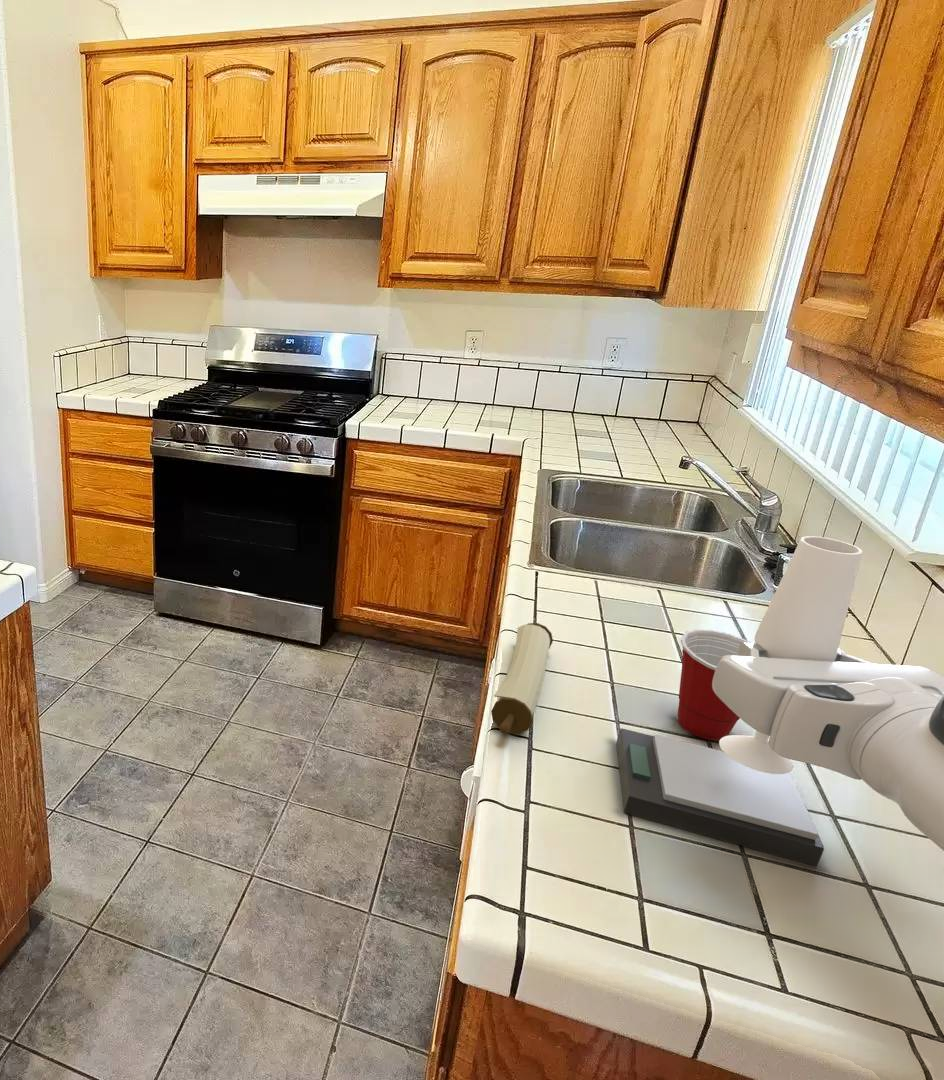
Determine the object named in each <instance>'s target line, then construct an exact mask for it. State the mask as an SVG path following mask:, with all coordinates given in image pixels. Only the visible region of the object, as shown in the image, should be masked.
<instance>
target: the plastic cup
mask: <svg viewBox="0 0 944 1080" xmlns="http://www.w3.org/2000/svg"><path fill="white" fill-rule="evenodd" d="M680 642H681V646H682V652H681V653H682V656H681V661H682V663H681V670H680V671H681V672H680V681H679V689H678V690H679V691H678V699H679V700H678V706H677V707H678V709H677V721H678V725H679V726H680V727H681V728H682V729H683V730H684V731H686V732H688V733H689V734H691V735H692V736H695V737H698V738H700V739H702V740H703V739H704V740H708V741H720V739H721V738H723V737H725V736H729V735H731V732H732V730H733V729H734V727H735V725H736V723H737V722H738V721H739V720H741V719H740V718H739V717H738V716H737V715H736V714H735V713H734V712H733V711H732V710H731V709H730V708H729V707H728V706H727V705H726V704H725V703H724V702H723V701H722V700H721V699H720V698H719V697H718V696H717V695H716V694H715V692H714V691H713V688H712V681H713V677H714V673H715V670H716V667H717V665H718V663H719V661H720V660H721V658H722V657H723V656H725V655H733V656H737V652H738V649H739V646H740V644H741V643H752V642H751V641H749V640H748V639H745V638H742V637H739V636H737V635H734V634H731V633H729V632H728V633H727V632H723V631H720V630H719V631H718V630H715V629H701V628H700V629H697V628H695V629H691V630H688V631H685V632H684V634H683V635H682V636H681V637H680Z"/></svg>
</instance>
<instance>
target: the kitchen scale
mask: <svg viewBox="0 0 944 1080" xmlns="http://www.w3.org/2000/svg"><path fill="white" fill-rule="evenodd" d="M616 753H617V762H618V771H619V780H620V788H621V789H620V790H621V799H622V807H623V813H624V814H627V815H631V816H635V817H637V818H641V819H645V820H649V821H652V822H656V823H659V824H663V825H666V826H670V827H673V828H677V829H681V830H684V831H688V832H691V833H695V834H699V835H702V836H706V837H709V838H713V839H717V840H719V841H723V842H727V843H730V844H733V845H734V844H735V845H738V846H742V847H745V848H749V849H752V850H756V851H759V852H763V853H766V854H770V855H774V856H776V857H777V856H778V857H781V858H784V859H788V860H792V861H795V862H799V863H803V864H806V865H810V866H812V867H818V865H819V862H820V860H821V858H822V856H823V853H824V850H825V847H824V845H823V842H822V840H821V838H820V836H819V833H818V830H817V828H816V826H815V824H814V821H813V819H812V817H811V815H810V812H809V810H808V808H807V806H806V803H805V801H804V799H803V797H802V794H801V792H800V790H799V788H798V786H797V783H796V781H795V779H794V777H793V773H792V771H791V772H789V773H786V774H769V773H764V772H760V771H757V770H754V769H751V768H748V767H746V766H744V765H742V764H740V763H738V762H736V761H735V760H733V759H732V758H730V757H729V756H728V755H727V754H725V753H724V751H723V750H720V749H716V748H711V747H707V746H704V745H699V744H695V743H691V742H687V741H682V740H678V739H675V738H671V737H667V736H662V735H657V734H653V735H650V734H647V733H642V732H638V731H634V730H631V729H627V728H622V727H621V728H620V729H619V733H618V736H617V740H616Z"/></svg>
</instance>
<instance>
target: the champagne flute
mask: <svg viewBox="0 0 944 1080" xmlns="http://www.w3.org/2000/svg"><path fill="white" fill-rule="evenodd" d="M862 555H863V550H862V549H861V548H859V547H858V546H856V545H854V544H852V543H848V542H845V541H843V540H839V539H836V538H835V539H834V538H830V537H823V536H817V535H816V536H815V535H807V536H806V535H805V536H802V537H801V538H800V540H799V542H798V544H797V546H796V548H795V550H794V552H793V554H792V556H791V558H790V559H789V563H788V565H787V567H786V568H785V571H784V573H783V575H782V577H781V580H780V581H779V583H778V585H777V588H776V590H775V592H774V594H773V596H772V598H771V600H770V603H769V605H768V607H767V609H766V610H765V613H764V615H763V617H762V619H761V621H760V623H759V625H758V627H757V630H756V631H755V635H754V643H755V644H759V646H761V647H762V648H764V649H765V650H766V653H765V656H764V657H766V658H782V659H799V660H816V661H833V662H834V661H835V659H836V656H837V652H838V649H840V644H841V639H842V636H843V631H844V627H845V623H846V619H847V615H848V611H849V606H850V602H851V599H852V595H853V592H854V591H853V590H854V587H855V583H856V578H857V574H858V571H859V566H860V562H861V558H862ZM769 738H770V736H769V735H766V734H763V733H761V732H759V731H757V730H755V734H754V735H742V734H741V735H740V734H729V735H728V736H725V737H723V738H721V739H720V740H718V744H719V748H720V749H721V751H724V753H725V754H727V755H728V756H729V757H730V758H732V759H733V760H735V761H736V762H738V763H740V764H742V765H744V766H746V767H748V768H751V769H754V770H757V771H760V772H764V773H769V774H786V773H789V772H791V773H792V771H793V769H794V763H793V760H791V759H787V758H784V757H781V756H780V755H778V754H776V753H775V752H774V751H773V750H772V749H771V748H770V747H769V744H768V743H769Z"/></svg>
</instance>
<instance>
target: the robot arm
mask: <svg viewBox="0 0 944 1080" xmlns="http://www.w3.org/2000/svg"><path fill="white" fill-rule="evenodd" d="M765 653H766V650H765V649H764V648H762V647H761V646H759V644H756V643H755V642H754V643H753V642H751V643H741V644H740V646H739V649H738V652H737V656H733V655H725V656H723V657H722V658H721V660H720V661H719V663H718V665H717V667H716V670H715V673H714V677H713V681H712V688H713V691H714V692H715V694H716V695H717V696H718V697H719V698H720V699H721V700H722V701H723V702H724V703H725V704H726V705H727V706H728V707H729V708H730V709H731V710H732V711H733V712H734V713H735V714H736V715H737V716H738V717H739V718H740V719H739V720H741V721H742V722H743V723H745V724H746V725H747V726H749V727H750V728H752V729H753V730H755V731H759V732H761V733H763V734H766V735H769V738H768V741H769V743H768V744H769V747H770V748H771V749H772V750H773V751H774V752H775V753H776V754H778V755H780V756H781V757H784V758H787V759H790V760H791V761H796V762H800V763H803V764H808V765H812V766H816V767H820V768H824V769H827V770H830V771H833V772H835V773H837V774H841V775H842V776H843V775H844V776H845V777H848V778H850V779H855V780H858V781H863V783H865V784H866V785H867V786H868V787H870V788H871V789H872V790H873V791H875V792H876V793H878V794H879V795H881V796H882V797H884V798H886V799H888V800H890V801H892V802H894V803H895V804H897V805H898V807H899V808H900V810H901V811H902V813H903V815H904V817H906V819H907V820H908V821H909V822H910V824H912V826H914V828H916V829H917V830H918V831H920V833H922V834H923V835H924V836H925V837H927V839H928V840H930V841H931V842H932V843H933V844H934V845H936V846H937V847H938V848H939V849H941V850H942V851H943V852H944V675H943V674H941V673H939V672H937V671H935V670H932V669H930V668H926V667H923V666H918V665H917V666H916V665H915V666H914V665H899V664H879V663H873V662H870V661H867V660H864V659H862V658H858V657H856V656H852V655H850V654H847V653H846V652H844V651H843V650H842V649H840V648H838V652H837V656H836V659H835V661H834V662H833V661H816V660H799V659H782V658H766V657H764V656H765Z"/></svg>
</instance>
